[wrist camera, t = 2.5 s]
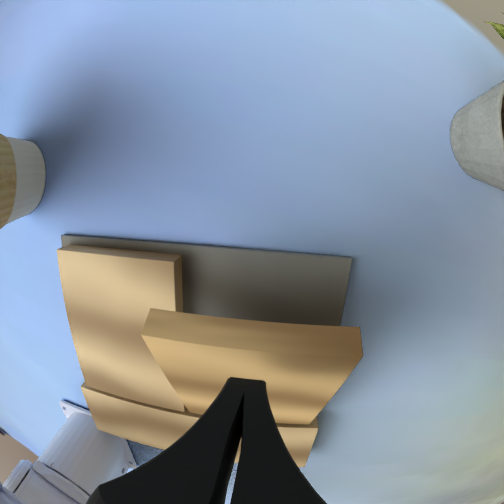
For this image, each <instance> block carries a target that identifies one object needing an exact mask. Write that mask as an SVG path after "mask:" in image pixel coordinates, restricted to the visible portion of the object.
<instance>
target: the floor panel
mask: <svg viewBox="0 0 504 504" xmlns="http://www.w3.org/2000/svg"><path fill="white" fill-rule="evenodd" d="M61 240H62V248H59V249H57V256H58V264H59V271H60V278H61V284H62V290H63V296H64V301H65V306H66V311H67V316H68V321H69V325H70V329H71V334H72V338H73V342H74V345H75V349H76V353H77V356H78V360H79V363H80V367H81V370H82V373H83V376H84V379H85V382H84V383H83V385H82V386H81V389H82V392H83V394H84V397H85V400H86V402H87V405H88V407H89V410H90V412H91V415H92V417H93V420H94V422H95V424H96V427H97V429H99V430H101V431H104V432H107V433H110V434H112V435H115V436H118V437H121V438H125V439H128V440H131V441H134V442H138V443H141V444H144V445H148V446H152V447H156V448H159V449H163V450H165V449H167V448H168V447H169V446H171V445H172V444H173V443H174V442H176V441H177V440H178V439H179V438H180V437H181V436H182V435H184V434H185V433H186V432H187V431H188V430H189V429H190V428H191V427H192V426H193V425H194V424H195V422H196V421H197V420H198V419H199V418H200V417H201V416H202V414H196V413H190V412H189V411H188V409H187V408H186V406H185V405H184V404H183V402H182V401H181V399H180V398H179V396H178V395H177V393H176V392H175V390H174V389H173V387H172V386H171V384H170V382H169V381H168V379H167V378H166V376H165V375H164V373H163V371H162V370H161V368H160V367H159V365H158V363H157V362H156V360H155V358H154V357H153V355H152V353H151V352H150V350H149V348H148V346H147V345H146V343H145V341H144V339H143V338H142V336H141V333H142V330H143V327H144V324H145V322H146V319H147V316H148V313H149V311H150V308H155V309H161V310H168V311H175V312H183V313H190V314H198V315H206V316H215V317H224V318H233V319H243V320H253V321H265V322H277V323H290V324H306V325H323V326H340V323H341V318H342V313H343V308H344V303H345V298H346V292H347V287H348V281H349V275H350V269H351V263H352V258H351V257H345V256H332V255H320V254H308V253H296V252H283V251H271V250H259V249H246V248H233V247H221V246H208V245H196V244H183V243H170V242H157V241H144V240H131V239H118V238H105V237H92V236H79V235H65V234H64V235H61ZM276 425H277V427H278V430H279V432H280V435H281V437H282V439H283V441H284V443H285V445H286V447H287V449H288V451H289V453H290V455H291V456H292V458H293V460H294V461H295V463H296V465H297V466H298V467H305V464H306V462H307V459H308V456H309V454H310V451H311V448H312V445H313V443H314V440H315V437H316V434H317V431H318V419H317V416H316V417H315V418H314V419H313V421H312V422H311V423H310V424H285V423H276ZM240 451H241V440H240V443H239V447H238V451H237V454H236V458H235V463H238V462H239V457H240Z"/></svg>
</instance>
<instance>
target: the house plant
mask: <svg viewBox="0 0 504 504" xmlns="http://www.w3.org/2000/svg"><path fill="white" fill-rule="evenodd" d="M486 23H489V24H491V25H492V26H493V27H494V28H495V30H496V31H497V32H498V33H499V34H500V35H501V37H502V38H503V39H504V25H501V24H497V23H492V22H486ZM450 140H451V146H452V150H453V153H454V156H455V158H456V160H457V162H458V163H459V165H460V167H461V168H462V169H463V170H464V171H465V172H466V174H468V175H469V176H471V177H472V178H475V179H477V180H480V181H482V182H485V183H487V184H489V185H492V186H494V187H496V188H499V189H501V190H503V191H504V81H503V82H501V83H500V84H498V85H497V86H495V87H493V88H492V89H490V90H489V91H487V92H486V93H484V94H483V95H481V96H479V97H478V98H476V99H475V100H473V101H472V102H470V103H469V104H467V105H466V106H464V107H463V108H461V109H460V110H459V111H458V112H457V113H456V114H455V116H454V118H453V120H452V123H451V128H450Z"/></svg>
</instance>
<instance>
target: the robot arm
mask: <svg viewBox="0 0 504 504" xmlns="http://www.w3.org/2000/svg"><path fill="white" fill-rule="evenodd" d="M60 405H61V407H62V409H63V412H64V414H65V416H66V418H67V421H66V422H65V423H64V425H63V426H62V427H61V428H60V430H59V431H58V432H57V434H56V435H55V437H54V438H53V439H52V441H51V442H50V443H49V445H48V446H47V447H46V449H45V450H44V451H43V453H42V454H41V456H40V457H39V458H38V460H37V461H36V462H35V463H33V464H32V463H31V462H30V461H29V460H26V461H25V460H21V461H20V462H19V463H18V465H17V466H16V467H15V469H14V470H13V471H12V473H11V474H10V475H9V477H8V478H7V480H6V481H5V482H4V484H3V485H2V483H1V482H0V504H225V498H226V492H227V487H228V483H229V479H230V476H231V472H232V469H233V465H234V462H235V458H236V454H237V451H238V447H239V443H240V440H241V451H240V457H239V462H238V468H237V473H236V478H235V483H234V488H233V493H232V498H231V503H230V504H327V503H326V502H325V501H324V500H323V499H322V498H321V497H320V496H319V494H318V493H317V492H316V491H315V490H314V488H313V487H312V486H311V484H310V483H309V482H308V480H307V479H306V478H305V477H304V475H303V474H302V472H301V471H300V469H299V468H298V466H297V465H296V463H295V461H294V460H293V458H292V456H291V455H290V453H289V451H288V449H287V447H286V445H285V443H284V441H283V439H282V437H281V435H280V432H279V430H278V427H277V425H276V422H275V419H274V417H273V414H272V411H271V408H270V404H269V400H268V395H267V389H266V382H265V381H264V380H255V379H245V378H236V377H230V378H228V379H227V381H226V383H225V385H224V386H223V388H222V390H221V391H220V393H219V394H218V396H217V397H216V398H215V400H214V401H213V402H212V404H211V405H210V406H209V408H208V409H207V410H206V411H205V413H204V414H203V415H202V416H201V417H200V418H199V419H198V420H197V421H196V422H195V424H194V425H193V426H192V427H191V428H190V429H189V430H188V431H187V432H186V433H185V434H184V435H182V436H181V437H180V438H179V439H178V440H177V441H176V442H174V443H173V444H172V445H171V446H169V447H168V448H167V449H165V450H164V451H163V452H161V453H160V454H159V455H157V456H156V457H154V458H153V459H151V460H150V461H148V462H146V463H145V464H143V465H141V466H139V467H138V468H137V464H136V462H135V460H134V457H133V455H132V453H131V450H130V448H129V445H128V443H127V440H126V439H125V438H121V437H118V436H115V435H112V434H110V433H107V432H104V431H101V430H99V429H97V427H96V424H95V422H94V420H93V417H92V415H91V412H90V411H89V410H86V409H83V408H81V407H78V406H76V405H73V404H71V403H69V402H66V401H64V400H61V401H60ZM129 467H130V468H133V469H134V470H132V471H130V472H128V473H127V471H128V468H129Z"/></svg>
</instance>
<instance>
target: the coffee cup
mask: <svg viewBox="0 0 504 504" xmlns="http://www.w3.org/2000/svg"><path fill="white" fill-rule="evenodd" d="M45 181H46V170H45V162H44V158H43V155H42V153H41V151H40V149H39V147H38V146H37V145H36V144H35V143H33V142H31V141H27V140H22V139H17V138H11V137H5V136H4V135H2V134H0V229H1V228H2V227H3V226H4V225H6V224H8V223H10V222H12V221H14V220H16V219H19V218H21V217H23V216H25V215H28V214H30V213H31V212H33V211H34V210H35V209H36V208H37V206H38V205H39V203H40V201H41V198H42V196H43V192H44V188H45Z"/></svg>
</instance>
